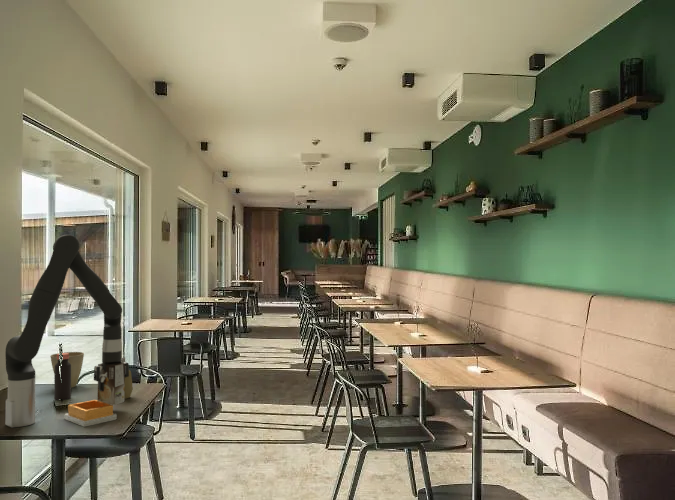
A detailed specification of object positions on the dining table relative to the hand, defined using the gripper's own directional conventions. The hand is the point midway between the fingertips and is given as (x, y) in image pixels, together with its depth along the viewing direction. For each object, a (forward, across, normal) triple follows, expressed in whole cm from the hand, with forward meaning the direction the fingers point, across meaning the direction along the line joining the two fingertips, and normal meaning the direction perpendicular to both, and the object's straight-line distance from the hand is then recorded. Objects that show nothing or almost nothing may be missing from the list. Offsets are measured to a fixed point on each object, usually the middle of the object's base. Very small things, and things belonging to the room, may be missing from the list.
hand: (111, 389), depth 238 cm
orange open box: (+9, -11, -6) cm, 16 cm away
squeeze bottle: (+9, +14, +16) cm, 23 cm away
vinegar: (+9, -4, +36) cm, 37 cm away
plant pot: (+9, +8, +58) cm, 59 cm away
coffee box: (+6, 0, 0) cm, 6 cm away
